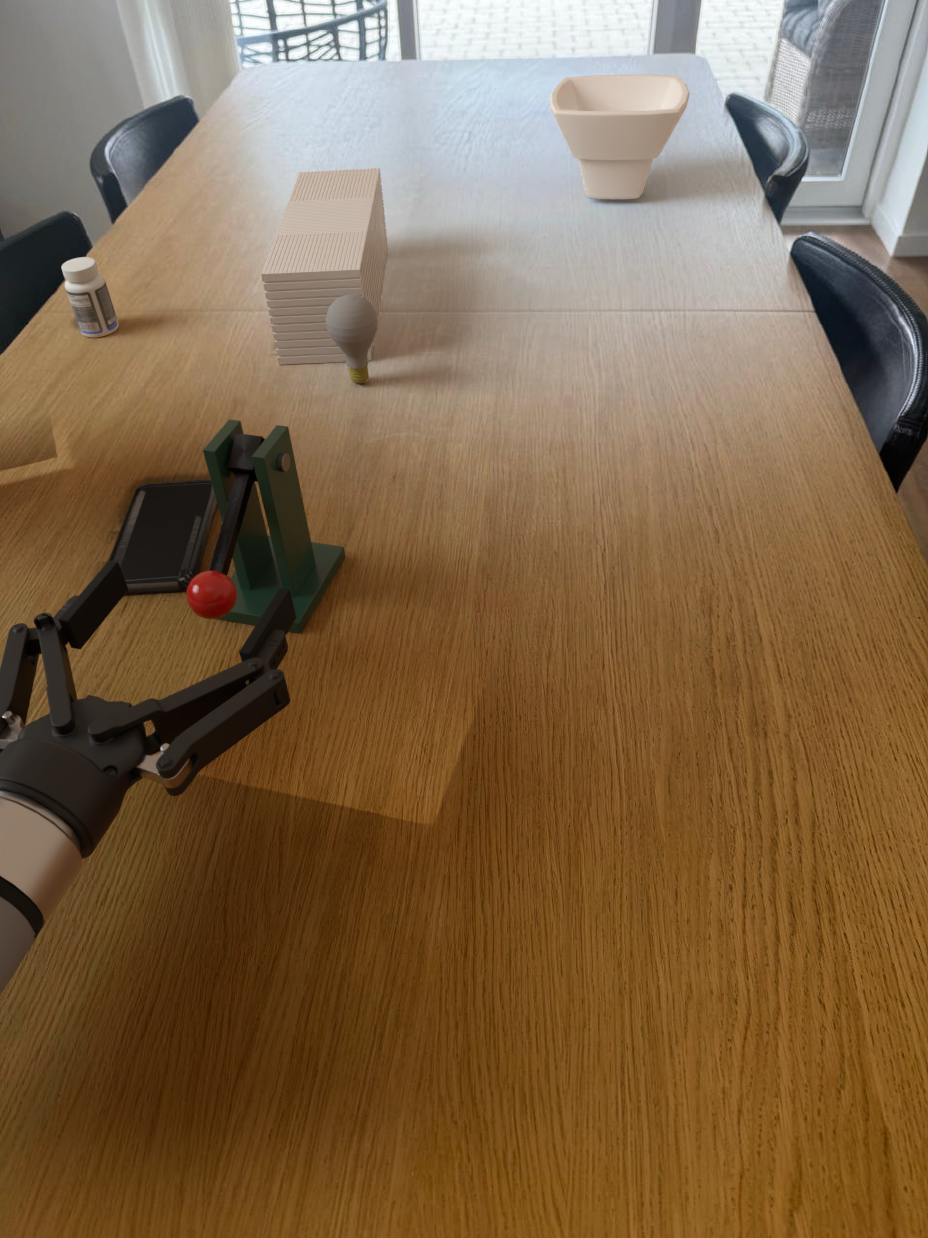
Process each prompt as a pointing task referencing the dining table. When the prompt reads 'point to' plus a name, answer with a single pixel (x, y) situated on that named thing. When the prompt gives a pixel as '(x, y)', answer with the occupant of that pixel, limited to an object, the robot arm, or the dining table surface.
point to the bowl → (617, 127)
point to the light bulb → (353, 332)
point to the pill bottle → (89, 297)
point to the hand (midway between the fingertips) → (201, 588)
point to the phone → (164, 535)
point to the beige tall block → (324, 259)
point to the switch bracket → (271, 531)
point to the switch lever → (226, 536)
